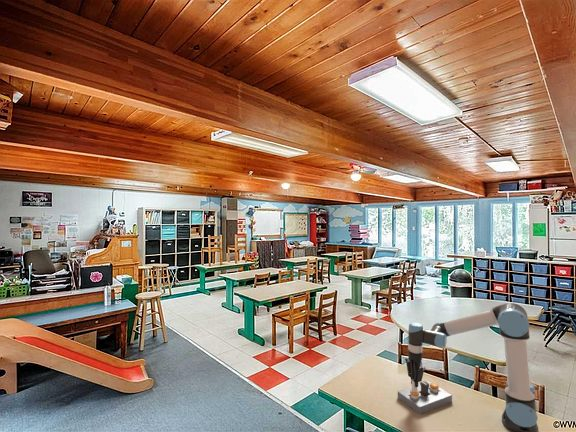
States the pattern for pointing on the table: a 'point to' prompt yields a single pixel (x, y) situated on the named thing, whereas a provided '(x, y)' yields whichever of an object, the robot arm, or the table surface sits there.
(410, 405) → the panel
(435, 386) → the knob far
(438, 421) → the table surface
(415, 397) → the knob near
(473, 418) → the table surface
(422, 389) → the dial
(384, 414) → the table surface
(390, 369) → the table surface
